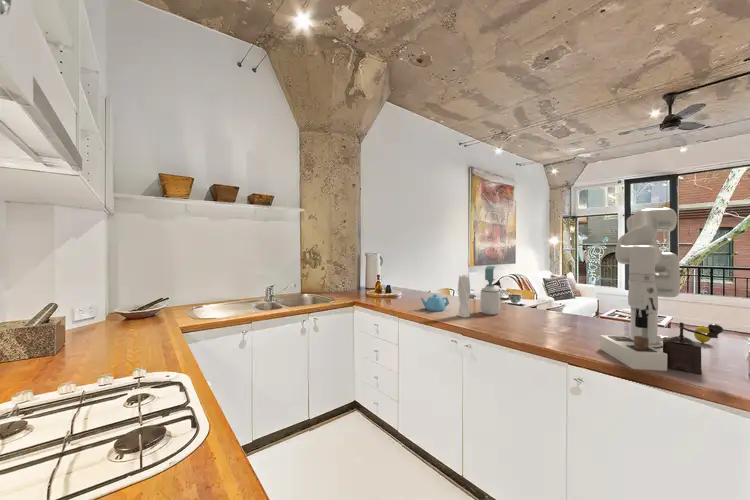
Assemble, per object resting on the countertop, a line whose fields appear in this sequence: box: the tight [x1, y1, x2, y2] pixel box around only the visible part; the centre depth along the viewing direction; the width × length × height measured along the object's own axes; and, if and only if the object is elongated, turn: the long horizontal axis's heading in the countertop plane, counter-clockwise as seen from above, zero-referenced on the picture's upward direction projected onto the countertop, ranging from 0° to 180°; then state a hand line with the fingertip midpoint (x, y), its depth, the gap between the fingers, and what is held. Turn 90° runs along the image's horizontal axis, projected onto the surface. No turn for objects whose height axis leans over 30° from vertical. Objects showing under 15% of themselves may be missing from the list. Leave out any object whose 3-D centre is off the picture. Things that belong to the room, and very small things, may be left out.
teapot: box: [420, 293, 450, 312], centre depth 226 cm, size 15×15×11 cm
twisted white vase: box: [455, 272, 473, 319], centre depth 203 cm, size 8×8×28 cm
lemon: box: [693, 325, 712, 344], centre depth 148 cm, size 6×6×8 cm
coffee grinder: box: [662, 321, 724, 375], centre depth 118 cm, size 16×11×18 cm
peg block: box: [599, 334, 668, 372], centre depth 128 cm, size 11×23×6 cm, turn 170°
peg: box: [634, 336, 649, 350], centre depth 121 cm, size 4×4×6 cm
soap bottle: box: [480, 265, 501, 316], centre depth 213 cm, size 12×12×31 cm
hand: (641, 327), depth 121 cm, fingers closed
